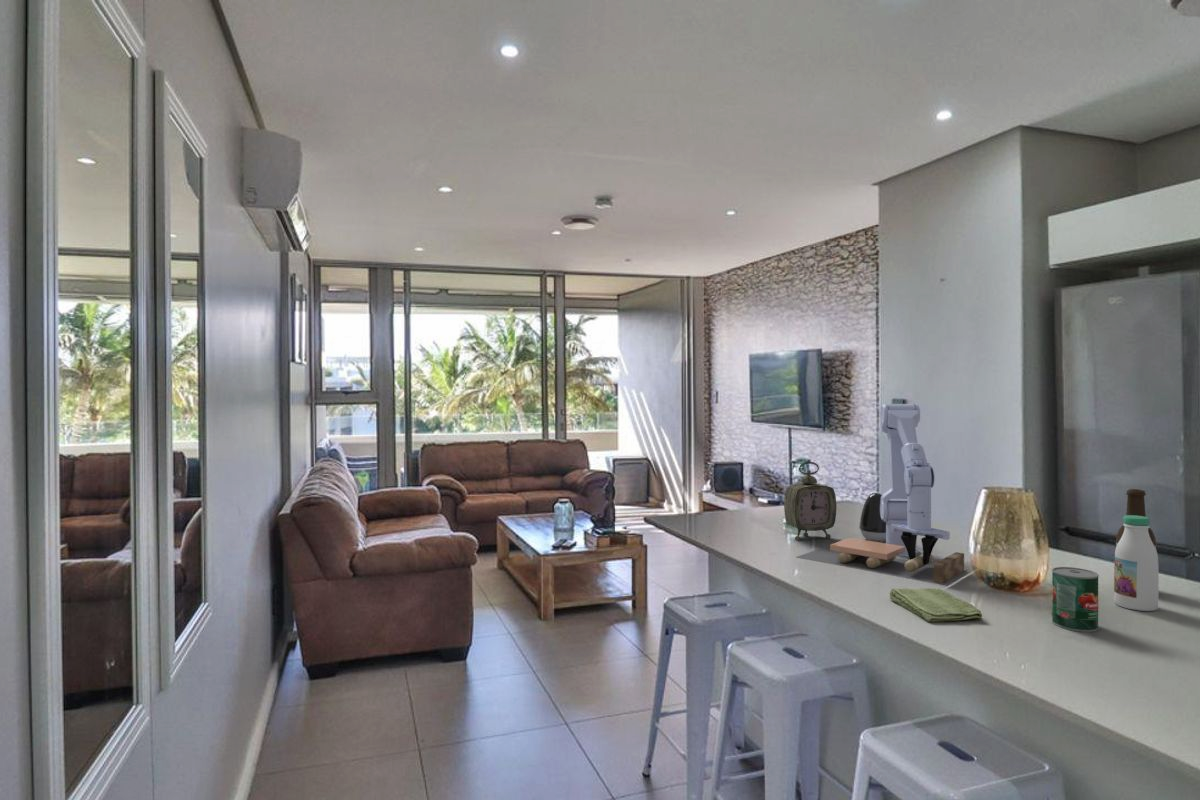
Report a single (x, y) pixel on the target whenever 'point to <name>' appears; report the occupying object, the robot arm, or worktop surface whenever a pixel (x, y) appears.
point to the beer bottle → (1135, 511)
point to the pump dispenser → (872, 519)
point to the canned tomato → (1075, 599)
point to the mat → (888, 568)
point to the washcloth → (934, 604)
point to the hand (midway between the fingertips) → (919, 562)
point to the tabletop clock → (810, 505)
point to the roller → (916, 563)
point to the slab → (868, 548)
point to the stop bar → (948, 567)
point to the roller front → (877, 562)
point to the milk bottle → (1136, 567)
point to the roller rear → (847, 557)
